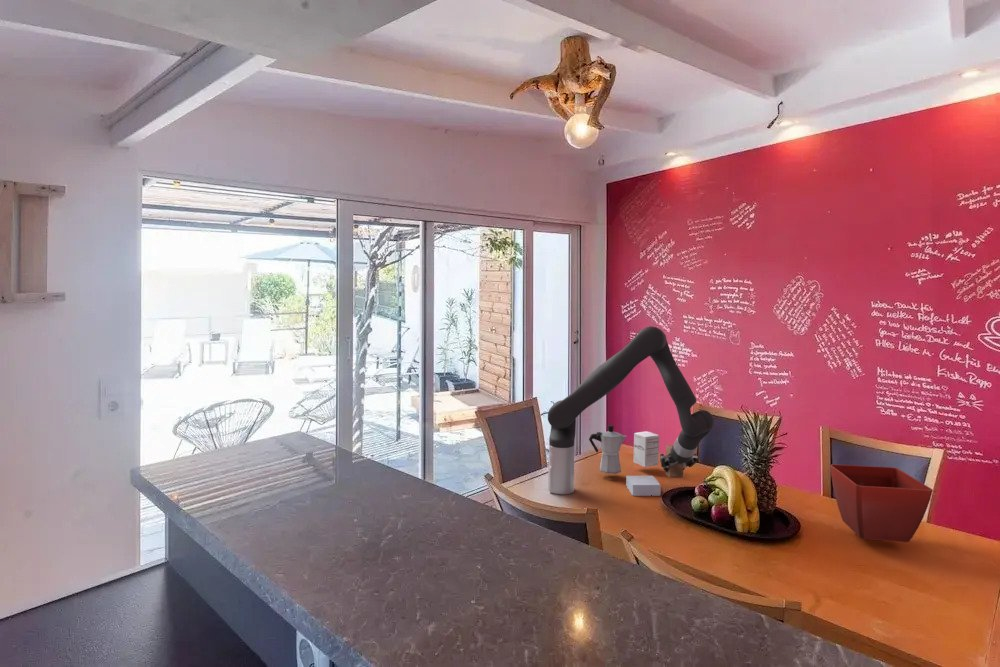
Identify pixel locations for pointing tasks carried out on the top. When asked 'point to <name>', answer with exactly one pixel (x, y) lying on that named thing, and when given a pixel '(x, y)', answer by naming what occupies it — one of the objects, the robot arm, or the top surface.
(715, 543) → the top surface
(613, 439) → the coffee maker
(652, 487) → the stand
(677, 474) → the walnut block
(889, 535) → the plant pot
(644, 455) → the supplement box
